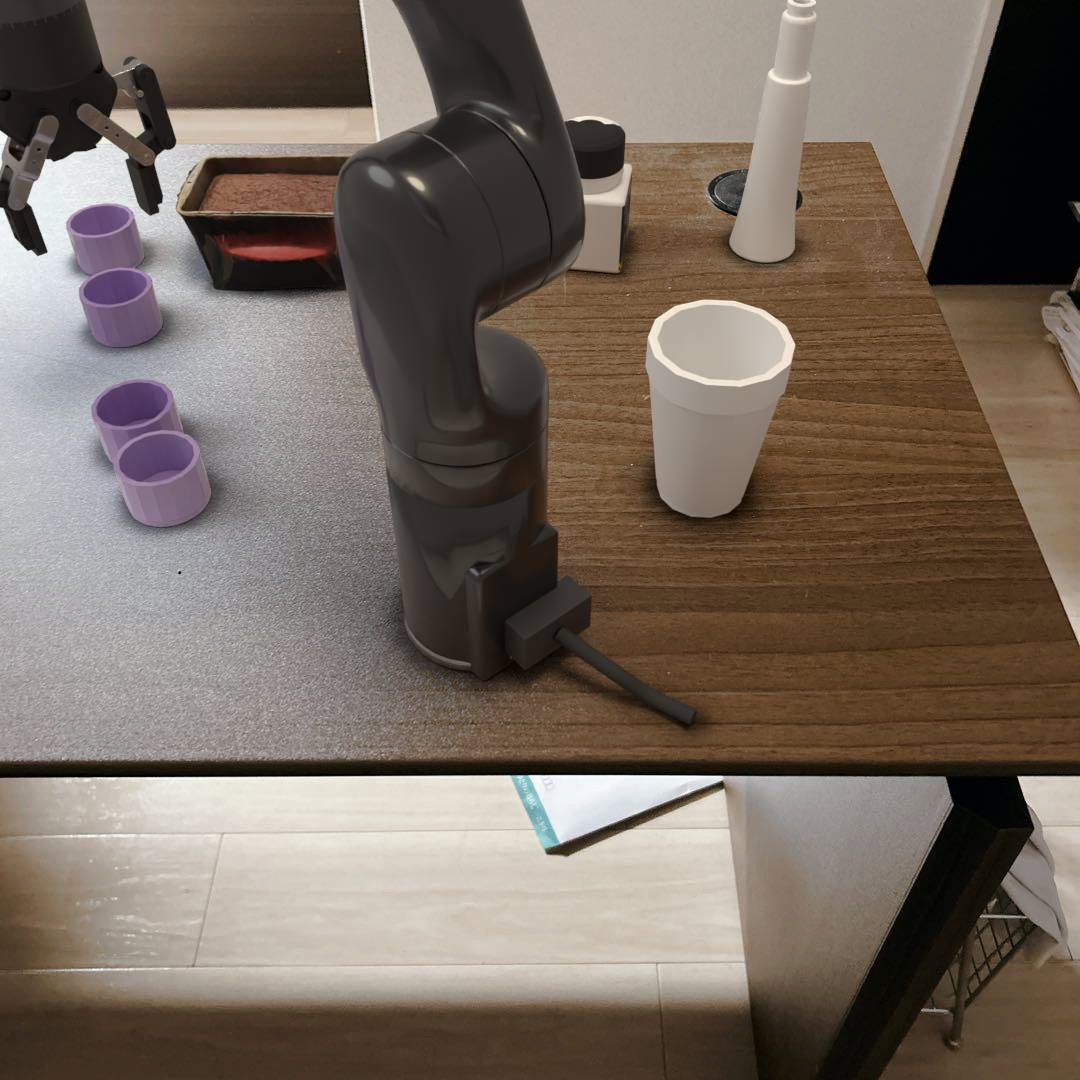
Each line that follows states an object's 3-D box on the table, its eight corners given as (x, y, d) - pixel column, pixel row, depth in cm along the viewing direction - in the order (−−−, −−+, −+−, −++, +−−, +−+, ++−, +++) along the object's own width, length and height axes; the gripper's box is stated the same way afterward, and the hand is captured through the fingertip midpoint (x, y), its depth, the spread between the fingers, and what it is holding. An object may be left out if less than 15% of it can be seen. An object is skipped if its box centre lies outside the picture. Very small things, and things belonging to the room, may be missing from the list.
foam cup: (728, 433, 86) (751, 288, 77) (789, 512, 80) (822, 365, 71) (615, 463, 84) (624, 317, 75) (669, 547, 78) (687, 400, 69)
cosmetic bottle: (784, 269, 102) (830, 20, 86) (720, 254, 104) (754, 8, 88) (801, 236, 106) (848, -8, 90) (739, 223, 108) (774, -19, 92)
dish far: (156, 261, 103) (145, 221, 100) (96, 284, 100) (83, 244, 97) (127, 235, 106) (115, 196, 103) (68, 257, 103) (55, 218, 100)
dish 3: (225, 501, 81) (214, 460, 78) (152, 539, 79) (137, 498, 76) (186, 460, 84) (174, 419, 81) (114, 495, 82) (99, 454, 79)
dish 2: (198, 447, 85) (187, 406, 82) (128, 481, 83) (113, 440, 80) (162, 410, 88) (150, 369, 85) (92, 442, 86) (77, 400, 83)
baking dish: (238, 226, 111) (199, 133, 103) (413, 210, 108) (386, 113, 100) (198, 321, 102) (151, 227, 94) (388, 306, 99) (356, 208, 91)
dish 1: (175, 329, 96) (164, 289, 93) (111, 356, 93) (97, 315, 90) (143, 299, 99) (131, 259, 96) (80, 324, 96) (66, 284, 93)
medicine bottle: (620, 275, 101) (628, 149, 93) (541, 268, 102) (542, 142, 94) (628, 233, 106) (636, 110, 98) (553, 227, 107) (555, 104, 98)
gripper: (-77, 44, 65) (20, 287, 76) (152, -17, 71) (209, 217, 83) (-119, 7, 69) (-22, 243, 80) (100, -47, 75) (162, 179, 87)
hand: (95, 230), depth 81 cm, fingers open, 8 cm apart
